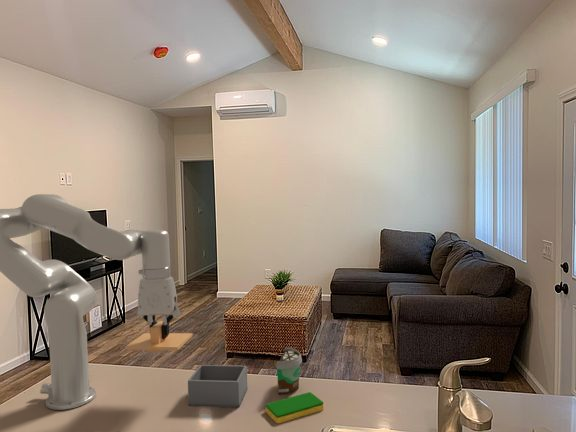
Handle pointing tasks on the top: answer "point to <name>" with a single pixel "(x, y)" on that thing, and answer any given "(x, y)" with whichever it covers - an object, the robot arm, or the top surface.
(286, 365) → the food container
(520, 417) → the top surface
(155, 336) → the lid
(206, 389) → the tub
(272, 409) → the dish sponge
